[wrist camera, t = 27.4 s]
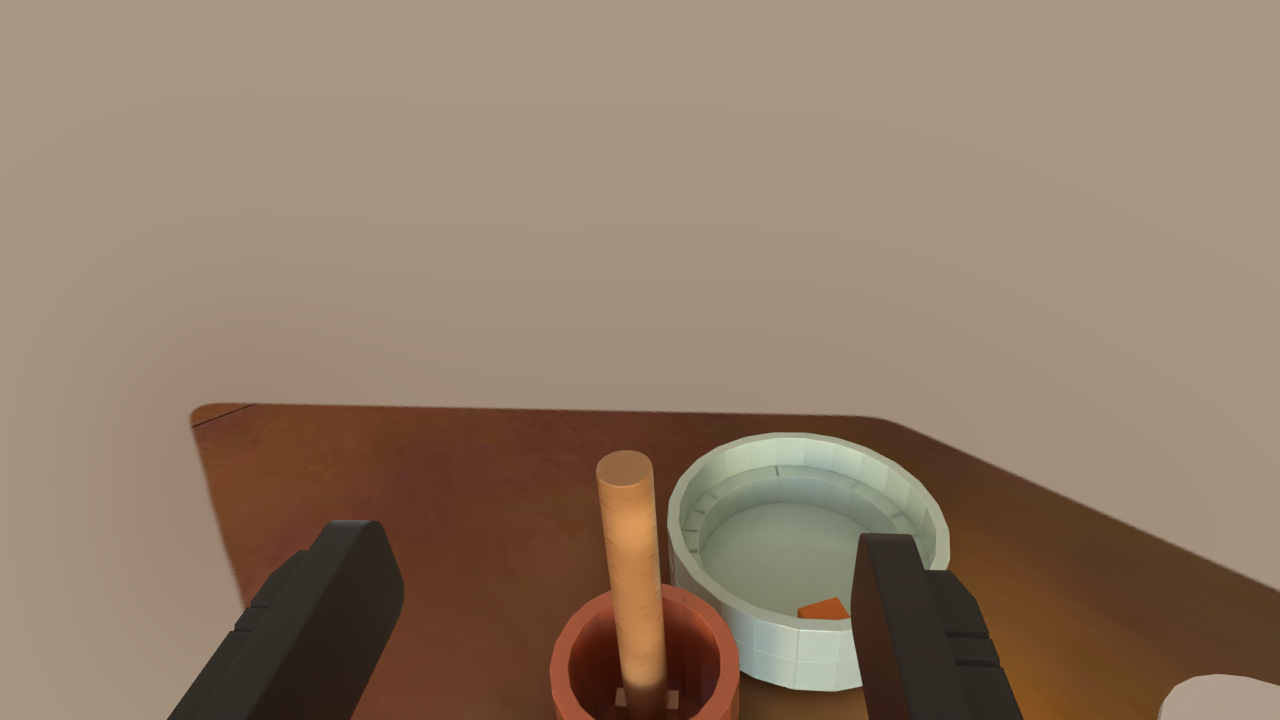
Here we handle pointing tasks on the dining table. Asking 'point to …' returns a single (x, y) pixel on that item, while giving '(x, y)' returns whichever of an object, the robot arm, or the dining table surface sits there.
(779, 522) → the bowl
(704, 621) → the crock
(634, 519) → the stirring stick
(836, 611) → the carrot chunk
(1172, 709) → the candle
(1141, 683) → the dining table surface
